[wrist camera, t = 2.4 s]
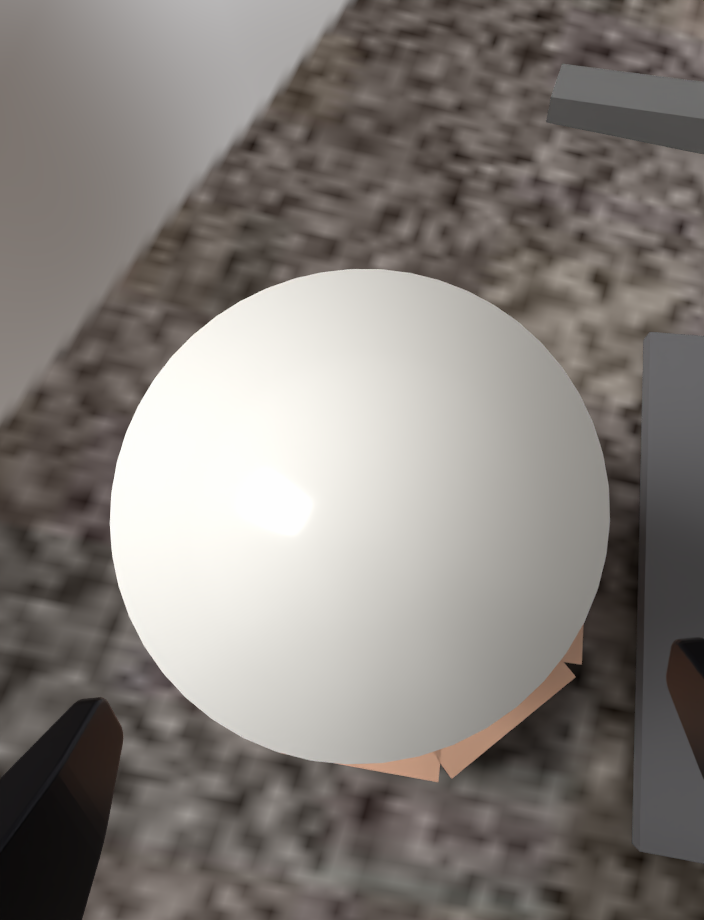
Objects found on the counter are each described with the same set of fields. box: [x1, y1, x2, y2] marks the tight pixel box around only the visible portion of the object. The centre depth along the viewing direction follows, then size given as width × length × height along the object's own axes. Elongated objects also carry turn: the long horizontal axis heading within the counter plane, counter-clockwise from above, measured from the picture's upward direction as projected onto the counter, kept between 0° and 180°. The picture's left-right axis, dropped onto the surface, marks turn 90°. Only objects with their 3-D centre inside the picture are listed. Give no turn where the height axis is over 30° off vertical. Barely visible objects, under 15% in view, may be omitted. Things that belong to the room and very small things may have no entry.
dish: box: [281, 624, 584, 782], centre depth 19 cm, size 12×12×2 cm
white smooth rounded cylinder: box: [110, 269, 610, 764], centre depth 13 cm, size 7×7×11 cm
